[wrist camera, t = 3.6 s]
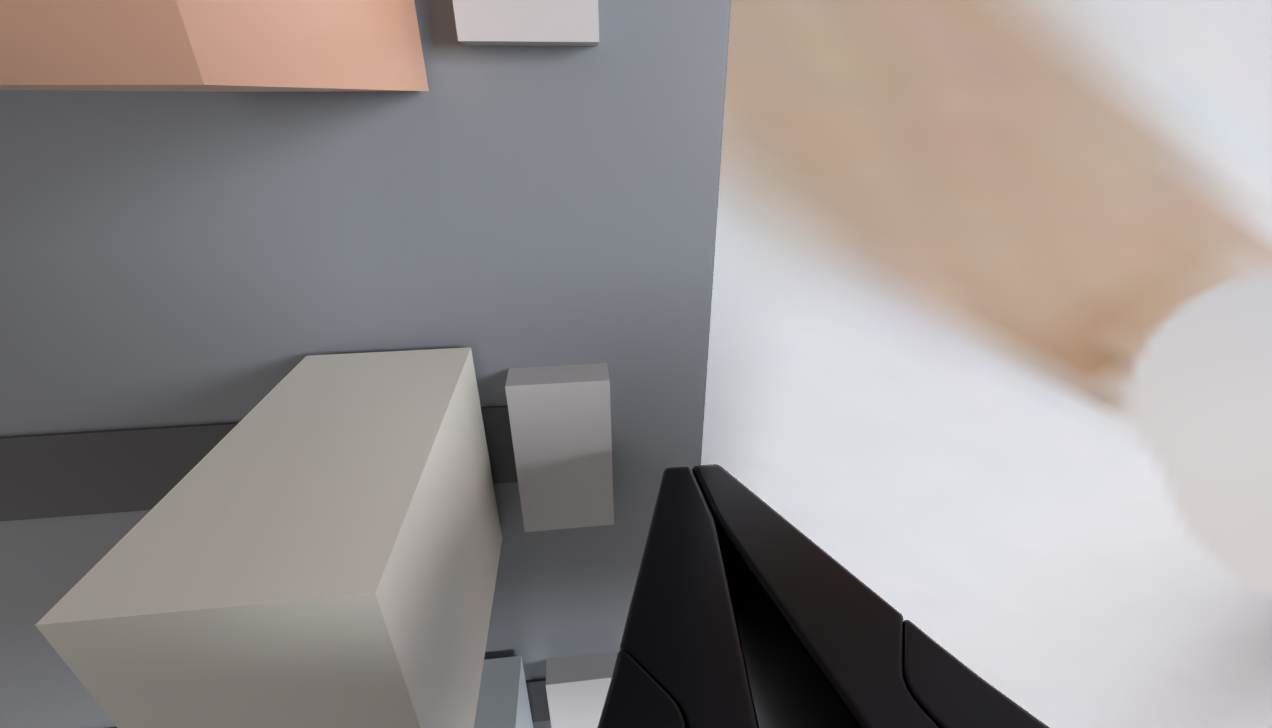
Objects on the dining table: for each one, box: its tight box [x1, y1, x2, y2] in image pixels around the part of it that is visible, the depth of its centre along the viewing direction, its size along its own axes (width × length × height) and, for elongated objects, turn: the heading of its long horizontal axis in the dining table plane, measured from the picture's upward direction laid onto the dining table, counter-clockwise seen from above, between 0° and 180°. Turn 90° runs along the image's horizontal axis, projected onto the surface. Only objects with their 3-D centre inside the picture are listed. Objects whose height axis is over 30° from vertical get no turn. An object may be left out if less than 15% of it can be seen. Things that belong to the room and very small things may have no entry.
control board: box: [0, 0, 731, 728], centre depth 9 cm, size 20×24×3 cm
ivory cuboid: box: [35, 347, 502, 728], centre depth 7 cm, size 2×4×4 cm, turn 0°
